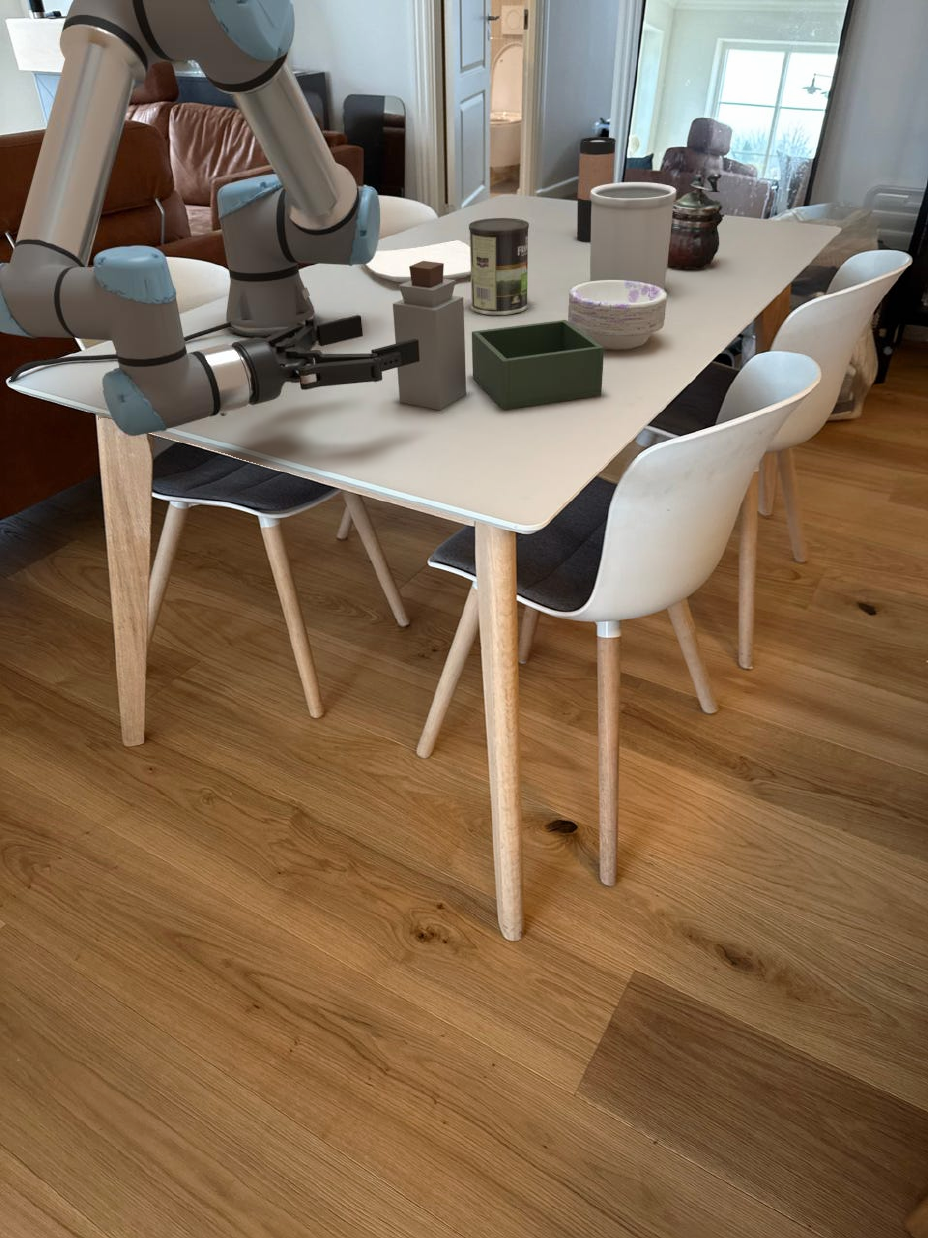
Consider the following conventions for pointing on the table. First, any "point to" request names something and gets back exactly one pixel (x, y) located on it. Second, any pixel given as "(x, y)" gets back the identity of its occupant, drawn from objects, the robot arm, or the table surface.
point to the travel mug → (592, 177)
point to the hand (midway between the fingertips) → (388, 337)
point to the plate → (398, 261)
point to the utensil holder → (631, 232)
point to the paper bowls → (617, 311)
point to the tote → (537, 364)
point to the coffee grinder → (695, 227)
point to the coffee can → (499, 265)
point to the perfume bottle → (431, 338)
